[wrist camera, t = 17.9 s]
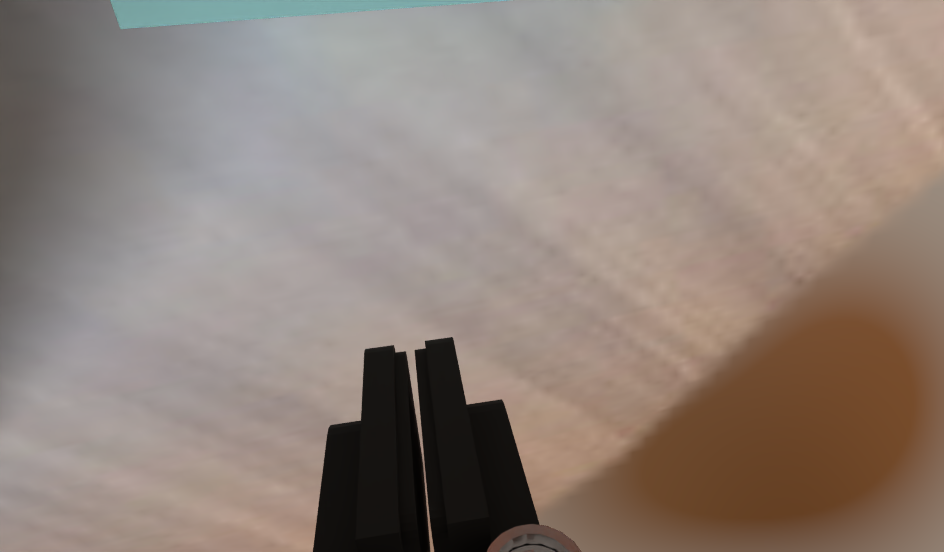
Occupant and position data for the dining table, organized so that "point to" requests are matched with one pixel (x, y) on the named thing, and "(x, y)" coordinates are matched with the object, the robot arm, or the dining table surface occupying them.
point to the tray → (248, 9)
